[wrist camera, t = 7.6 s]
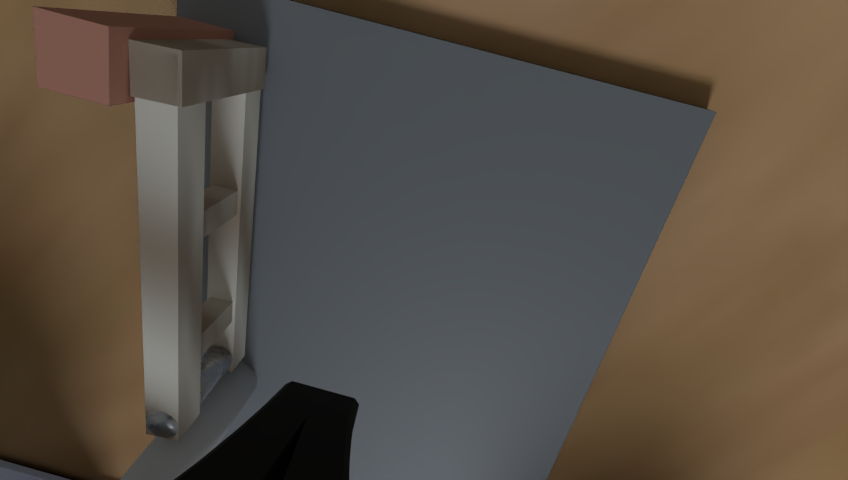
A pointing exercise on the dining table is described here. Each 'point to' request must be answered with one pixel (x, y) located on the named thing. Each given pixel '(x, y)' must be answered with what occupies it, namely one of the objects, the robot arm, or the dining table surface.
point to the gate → (193, 215)
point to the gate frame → (415, 230)
